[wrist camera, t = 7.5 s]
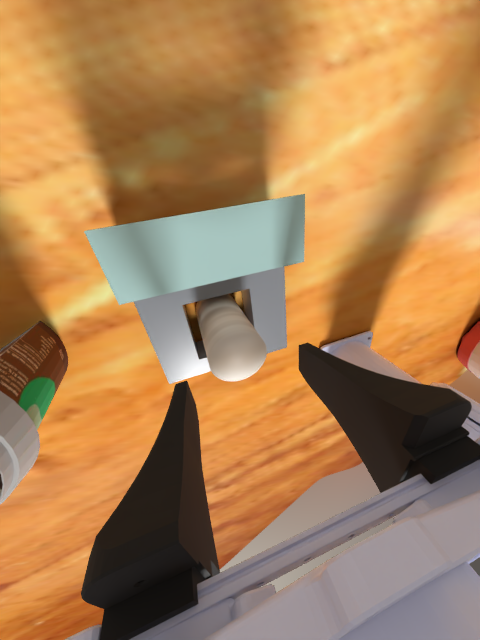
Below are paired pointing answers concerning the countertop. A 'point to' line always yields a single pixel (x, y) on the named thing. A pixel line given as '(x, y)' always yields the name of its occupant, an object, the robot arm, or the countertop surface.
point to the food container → (26, 399)
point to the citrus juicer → (471, 350)
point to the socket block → (204, 271)
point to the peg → (229, 339)
